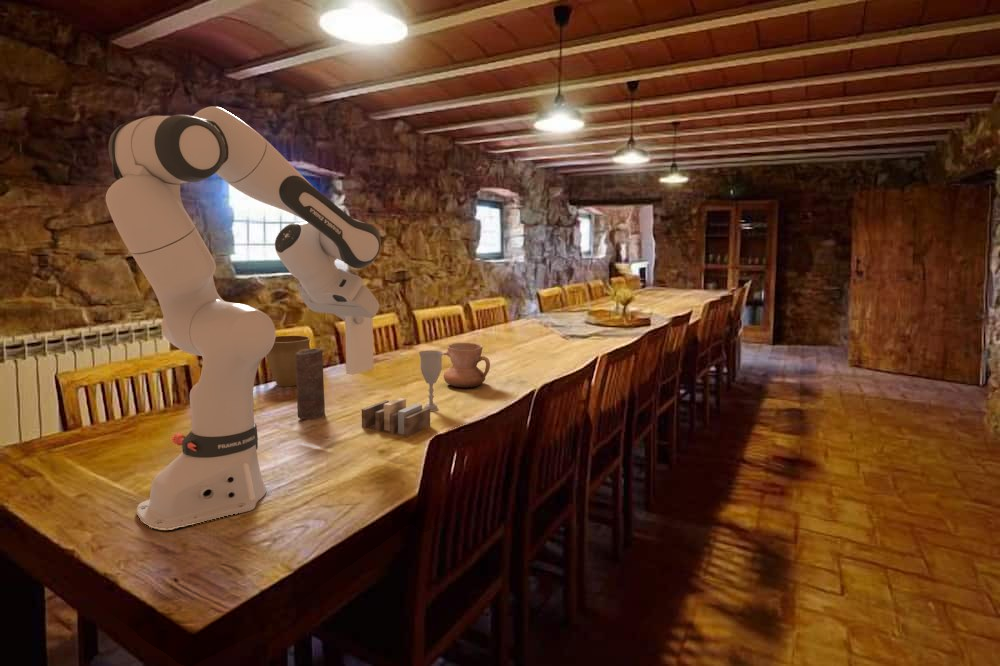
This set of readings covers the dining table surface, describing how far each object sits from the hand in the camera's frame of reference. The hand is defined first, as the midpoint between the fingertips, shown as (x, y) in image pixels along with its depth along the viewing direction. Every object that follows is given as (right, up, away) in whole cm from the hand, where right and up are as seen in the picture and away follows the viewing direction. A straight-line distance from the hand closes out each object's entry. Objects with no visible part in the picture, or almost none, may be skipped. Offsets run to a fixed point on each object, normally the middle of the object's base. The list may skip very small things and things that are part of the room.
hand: (355, 321), depth 147 cm
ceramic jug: (+24, -21, +60) cm, 68 cm away
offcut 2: (+12, -28, +10) cm, 32 cm away
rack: (+8, -29, +12) cm, 32 cm away
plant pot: (-37, -21, +57) cm, 71 cm away
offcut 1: (+8, -28, +12) cm, 31 cm away
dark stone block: (-17, -27, +20) cm, 38 cm away
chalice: (+16, -26, +28) cm, 42 cm away
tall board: (0, -12, +3) cm, 13 cm away
